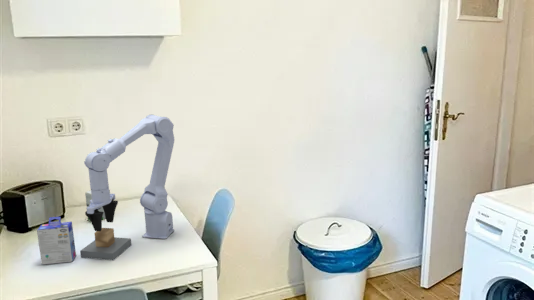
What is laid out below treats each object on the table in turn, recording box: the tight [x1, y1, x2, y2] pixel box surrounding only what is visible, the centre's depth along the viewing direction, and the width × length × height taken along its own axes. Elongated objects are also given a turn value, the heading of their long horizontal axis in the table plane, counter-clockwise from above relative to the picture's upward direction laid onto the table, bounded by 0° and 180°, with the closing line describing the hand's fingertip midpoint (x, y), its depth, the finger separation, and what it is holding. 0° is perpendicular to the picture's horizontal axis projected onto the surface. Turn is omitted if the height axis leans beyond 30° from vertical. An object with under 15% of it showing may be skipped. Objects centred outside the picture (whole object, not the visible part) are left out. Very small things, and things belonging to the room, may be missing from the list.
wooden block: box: [94, 227, 115, 247], centre depth 159 cm, size 4×4×5 cm
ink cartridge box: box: [36, 216, 77, 265], centre depth 152 cm, size 10×6×14 cm, turn 101°
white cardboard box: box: [84, 189, 111, 222], centre depth 189 cm, size 9×5×12 cm, turn 143°
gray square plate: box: [79, 236, 132, 261], centre depth 160 cm, size 12×12×3 cm
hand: (104, 226), depth 158 cm, fingers open, 7 cm apart
